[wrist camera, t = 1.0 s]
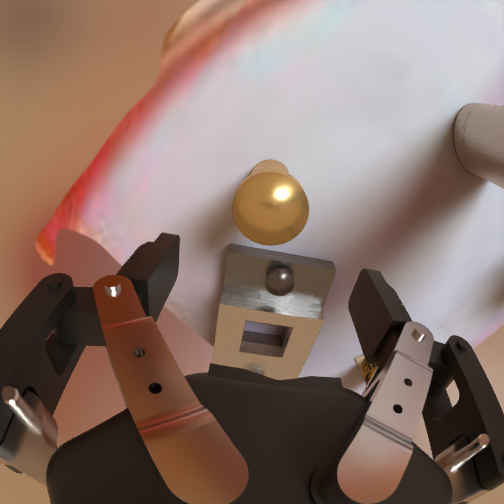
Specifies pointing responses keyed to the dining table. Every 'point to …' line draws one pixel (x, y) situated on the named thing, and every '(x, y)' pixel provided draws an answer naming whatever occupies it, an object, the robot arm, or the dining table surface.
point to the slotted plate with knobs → (270, 310)
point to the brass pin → (270, 205)
